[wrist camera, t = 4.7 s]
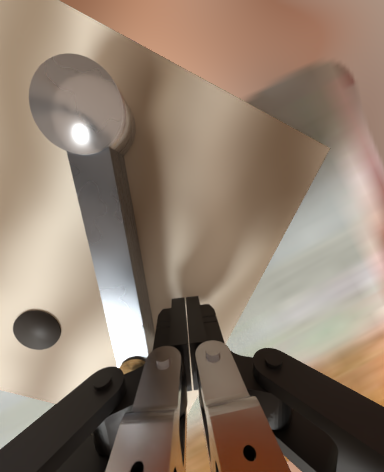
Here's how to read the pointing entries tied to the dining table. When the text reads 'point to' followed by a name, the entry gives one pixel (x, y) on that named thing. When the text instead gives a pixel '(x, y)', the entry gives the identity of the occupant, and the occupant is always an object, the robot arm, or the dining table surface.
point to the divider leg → (100, 189)
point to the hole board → (142, 194)
